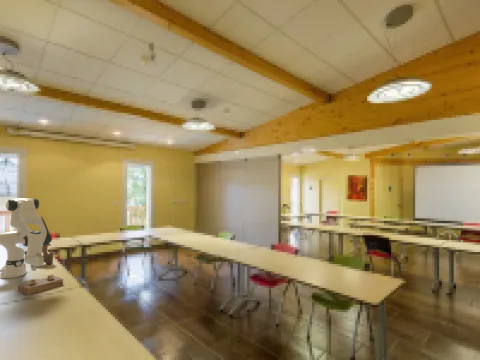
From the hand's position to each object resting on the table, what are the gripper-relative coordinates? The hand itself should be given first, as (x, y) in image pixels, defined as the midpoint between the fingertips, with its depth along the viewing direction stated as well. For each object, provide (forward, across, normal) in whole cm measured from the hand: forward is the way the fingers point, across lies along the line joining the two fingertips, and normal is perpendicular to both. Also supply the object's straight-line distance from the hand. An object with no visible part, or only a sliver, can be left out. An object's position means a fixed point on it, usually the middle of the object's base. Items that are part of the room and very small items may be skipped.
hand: (33, 270), depth 192 cm
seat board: (+15, 0, -6) cm, 16 cm away
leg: (+15, 0, 0) cm, 15 cm away
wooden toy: (+15, +62, -37) cm, 74 cm away
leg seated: (+15, 0, -12) cm, 19 cm away
